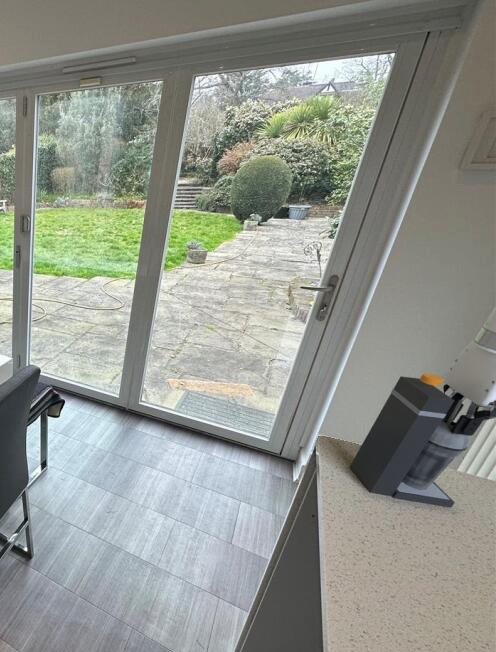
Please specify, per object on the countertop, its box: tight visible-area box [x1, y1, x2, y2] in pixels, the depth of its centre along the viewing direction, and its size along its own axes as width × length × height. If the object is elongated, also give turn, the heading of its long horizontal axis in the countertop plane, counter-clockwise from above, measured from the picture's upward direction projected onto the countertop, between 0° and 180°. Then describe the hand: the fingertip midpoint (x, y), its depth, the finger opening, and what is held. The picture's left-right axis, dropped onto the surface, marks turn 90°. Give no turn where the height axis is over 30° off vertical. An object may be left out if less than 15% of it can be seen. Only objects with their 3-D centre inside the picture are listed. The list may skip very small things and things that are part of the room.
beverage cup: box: [402, 400, 470, 490], centre depth 82 cm, size 7×7×20 cm
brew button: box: [419, 372, 443, 387], centre depth 77 cm, size 3×3×1 cm
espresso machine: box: [349, 376, 455, 508], centre depth 83 cm, size 14×9×24 cm, turn 77°
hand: (452, 425), depth 80 cm, fingers closed on beverage cup, 4 cm apart
